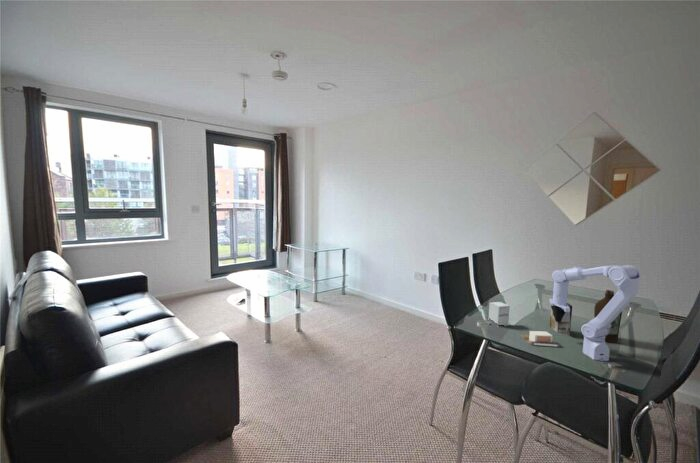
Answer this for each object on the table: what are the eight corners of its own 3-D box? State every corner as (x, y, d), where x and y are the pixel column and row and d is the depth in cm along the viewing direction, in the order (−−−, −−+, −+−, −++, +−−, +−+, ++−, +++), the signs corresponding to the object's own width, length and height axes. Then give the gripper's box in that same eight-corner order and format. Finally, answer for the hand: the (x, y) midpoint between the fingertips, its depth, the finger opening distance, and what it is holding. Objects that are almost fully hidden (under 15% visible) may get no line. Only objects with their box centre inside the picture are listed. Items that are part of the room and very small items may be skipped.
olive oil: (589, 332, 162) (593, 286, 159) (614, 336, 158) (618, 289, 155) (596, 341, 152) (600, 292, 150) (622, 345, 148) (628, 295, 146)
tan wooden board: (560, 350, 141) (560, 347, 141) (530, 348, 143) (530, 345, 143) (547, 339, 153) (547, 336, 153) (519, 337, 155) (519, 334, 155)
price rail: (559, 347, 141) (559, 344, 141) (531, 345, 143) (532, 342, 143) (558, 346, 142) (558, 343, 142) (530, 344, 144) (531, 341, 144)
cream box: (529, 339, 149) (529, 331, 148) (545, 340, 148) (546, 331, 148) (534, 344, 144) (535, 335, 143) (552, 345, 143) (552, 335, 143)
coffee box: (570, 336, 157) (573, 305, 156) (556, 335, 158) (559, 304, 157) (562, 329, 166) (564, 300, 165) (548, 328, 167) (551, 299, 166)
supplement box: (497, 329, 165) (498, 306, 163) (487, 324, 172) (489, 302, 170) (508, 328, 167) (510, 305, 165) (498, 322, 174) (500, 301, 172)
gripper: (543, 289, 156) (541, 315, 157) (559, 298, 142) (557, 326, 143) (558, 290, 155) (556, 316, 156) (575, 299, 141) (573, 327, 142)
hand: (557, 321), depth 149 cm, fingers closed
